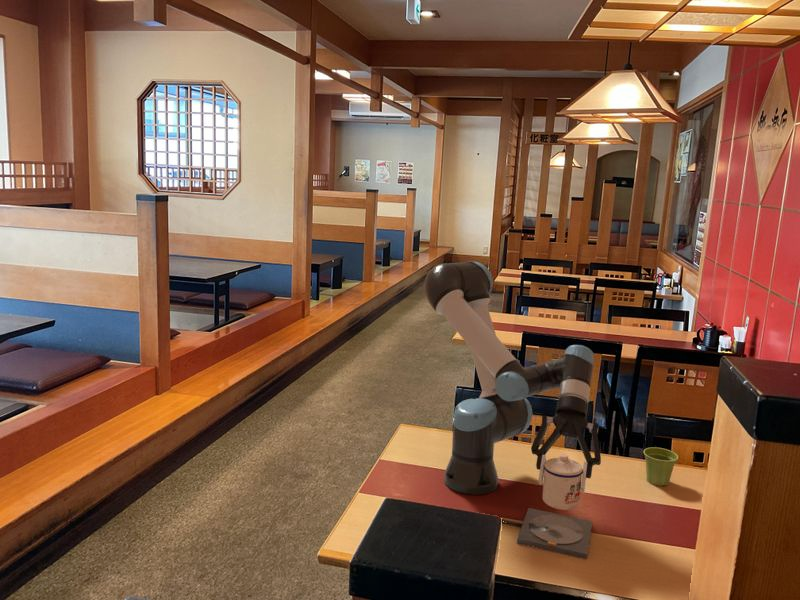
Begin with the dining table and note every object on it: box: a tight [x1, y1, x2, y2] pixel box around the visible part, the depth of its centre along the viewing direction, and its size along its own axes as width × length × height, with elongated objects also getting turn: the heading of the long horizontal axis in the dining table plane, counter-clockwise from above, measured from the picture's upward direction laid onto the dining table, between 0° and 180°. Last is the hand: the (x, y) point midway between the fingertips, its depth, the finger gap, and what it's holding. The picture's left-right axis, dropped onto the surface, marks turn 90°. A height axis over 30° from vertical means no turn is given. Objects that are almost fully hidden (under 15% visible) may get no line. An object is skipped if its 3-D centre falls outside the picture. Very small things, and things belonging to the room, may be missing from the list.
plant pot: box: [642, 446, 679, 487], centre depth 186 cm, size 9×9×9 cm
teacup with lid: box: [542, 454, 583, 511], centre depth 153 cm, size 12×9×12 cm
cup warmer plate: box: [501, 507, 593, 560], centre depth 157 cm, size 23×16×2 cm
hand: (561, 486), depth 150 cm, fingers closed on teacup with lid, 9 cm apart
